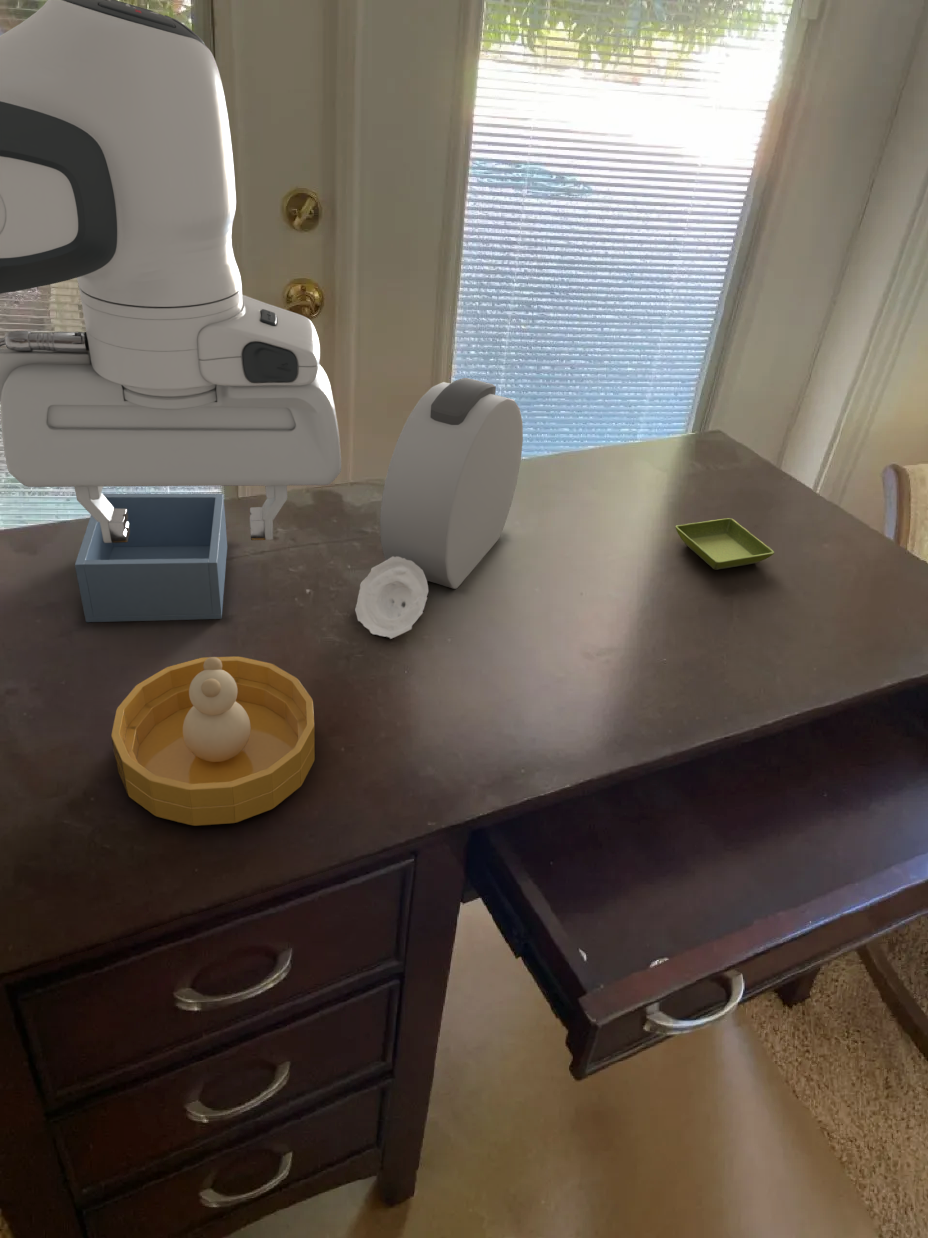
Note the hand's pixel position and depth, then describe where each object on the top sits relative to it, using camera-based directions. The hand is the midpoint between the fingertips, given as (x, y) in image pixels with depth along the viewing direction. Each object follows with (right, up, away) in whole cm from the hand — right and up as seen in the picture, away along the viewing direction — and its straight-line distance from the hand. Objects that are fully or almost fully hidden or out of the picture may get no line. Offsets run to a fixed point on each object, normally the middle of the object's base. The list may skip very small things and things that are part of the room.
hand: (190, 537), depth 60 cm
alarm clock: (+17, +2, +41) cm, 45 cm away
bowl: (-1, -17, +12) cm, 21 cm away
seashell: (+11, -6, +30) cm, 32 cm away
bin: (-13, -2, +31) cm, 34 cm away
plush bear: (-1, -16, +12) cm, 20 cm away
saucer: (+49, +2, +47) cm, 68 cm away
